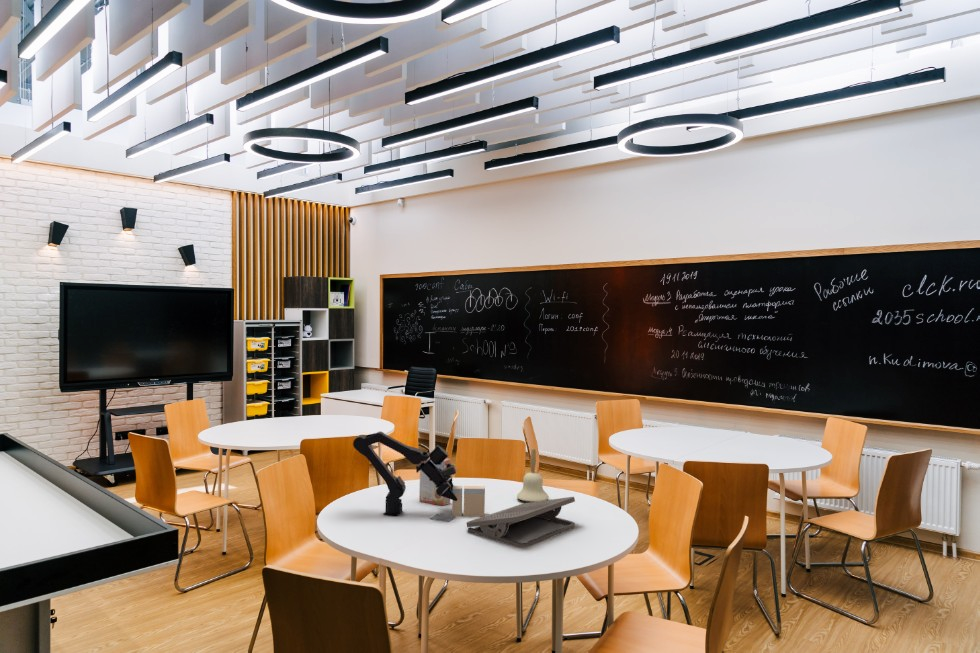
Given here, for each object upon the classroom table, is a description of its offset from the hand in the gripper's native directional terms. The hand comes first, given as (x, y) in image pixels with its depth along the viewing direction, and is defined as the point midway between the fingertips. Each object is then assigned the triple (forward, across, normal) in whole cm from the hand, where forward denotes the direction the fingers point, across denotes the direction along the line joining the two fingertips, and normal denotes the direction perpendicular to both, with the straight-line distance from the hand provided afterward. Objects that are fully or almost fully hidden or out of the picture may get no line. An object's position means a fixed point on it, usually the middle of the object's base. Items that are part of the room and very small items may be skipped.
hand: (457, 497), depth 277 cm
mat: (+1, -5, +9) cm, 11 cm away
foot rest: (+25, -18, -13) cm, 34 cm away
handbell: (+30, +24, -19) cm, 43 cm away
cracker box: (-3, +18, +13) cm, 23 cm away
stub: (+5, 0, +5) cm, 7 cm away
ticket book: (+10, 0, 0) cm, 11 cm away
